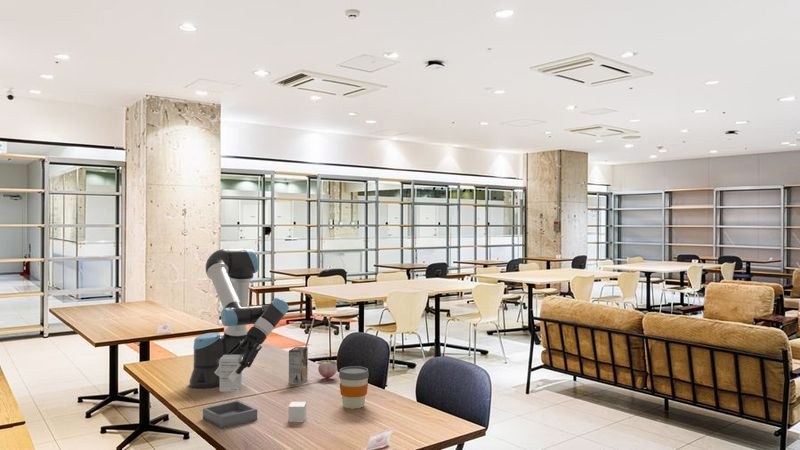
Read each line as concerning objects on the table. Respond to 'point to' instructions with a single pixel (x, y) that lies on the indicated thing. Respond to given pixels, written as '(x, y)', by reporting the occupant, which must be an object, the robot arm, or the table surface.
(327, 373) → the decorative fruit
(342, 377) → the reusable coffee cup
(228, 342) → the robot arm
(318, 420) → the table surface
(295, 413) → the white cube
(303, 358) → the coffee box
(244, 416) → the tray
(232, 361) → the supplement box
